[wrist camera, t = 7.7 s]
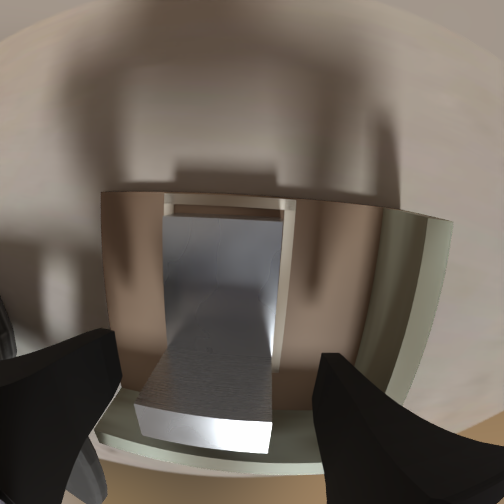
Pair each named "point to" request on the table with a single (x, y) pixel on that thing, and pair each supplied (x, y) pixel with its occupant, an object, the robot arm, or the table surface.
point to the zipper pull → (87, 463)
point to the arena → (279, 310)
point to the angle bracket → (215, 333)
